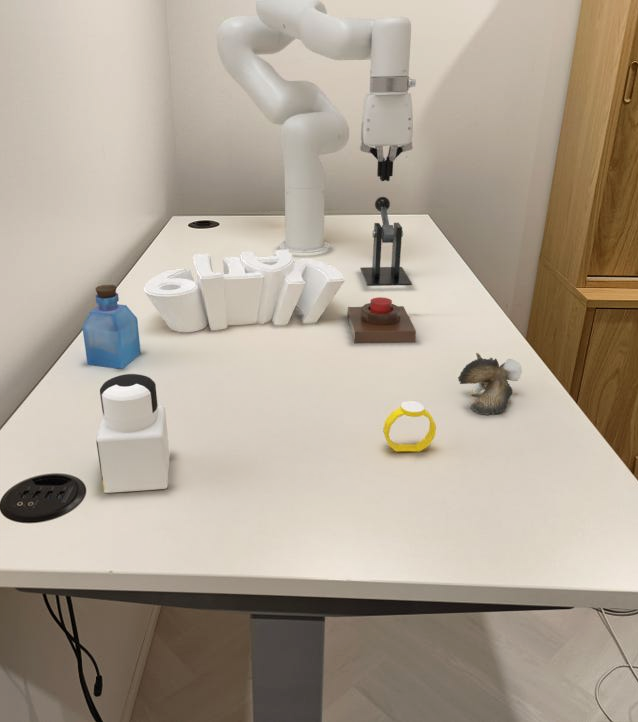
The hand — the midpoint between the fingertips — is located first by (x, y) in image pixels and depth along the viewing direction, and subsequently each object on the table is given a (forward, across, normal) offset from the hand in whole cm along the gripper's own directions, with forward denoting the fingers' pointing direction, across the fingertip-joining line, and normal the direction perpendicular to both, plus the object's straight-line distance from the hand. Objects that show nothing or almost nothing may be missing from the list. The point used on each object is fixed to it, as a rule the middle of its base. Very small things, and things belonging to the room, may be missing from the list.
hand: (384, 179), depth 143 cm
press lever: (+9, 0, +4) cm, 9 cm away
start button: (+16, +5, +37) cm, 40 cm away
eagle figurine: (+20, -6, +63) cm, 66 cm away
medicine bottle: (+20, +39, +81) cm, 92 cm away
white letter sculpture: (+20, +29, +30) cm, 46 cm away
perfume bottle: (+20, +49, +48) cm, 71 cm away
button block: (+20, +5, +37) cm, 42 cm away
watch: (+20, +7, +76) cm, 79 cm away
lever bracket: (+19, 0, +9) cm, 21 cm away
